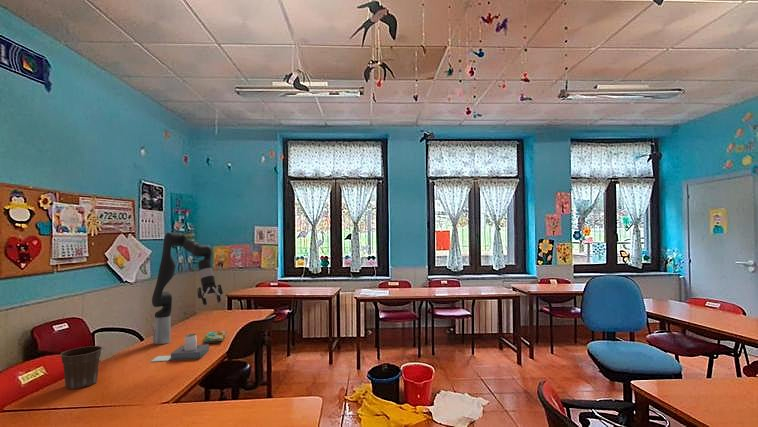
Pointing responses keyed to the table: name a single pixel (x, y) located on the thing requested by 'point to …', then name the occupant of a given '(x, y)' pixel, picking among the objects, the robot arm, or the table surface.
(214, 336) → the puzzle game
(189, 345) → the can
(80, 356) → the plant pot
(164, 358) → the mat
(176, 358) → the hollow block
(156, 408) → the table surface
